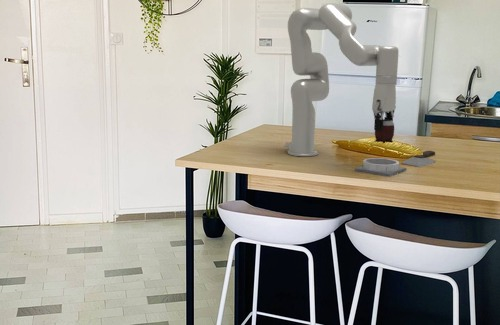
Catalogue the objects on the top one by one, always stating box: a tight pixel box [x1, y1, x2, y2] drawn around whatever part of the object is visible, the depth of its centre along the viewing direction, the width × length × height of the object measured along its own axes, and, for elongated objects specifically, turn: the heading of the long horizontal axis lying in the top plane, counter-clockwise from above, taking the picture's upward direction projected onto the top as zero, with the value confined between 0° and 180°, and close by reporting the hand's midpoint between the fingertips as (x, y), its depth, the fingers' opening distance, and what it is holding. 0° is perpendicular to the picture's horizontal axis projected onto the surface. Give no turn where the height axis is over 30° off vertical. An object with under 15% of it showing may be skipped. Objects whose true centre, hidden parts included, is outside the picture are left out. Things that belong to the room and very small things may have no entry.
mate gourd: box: [374, 110, 395, 144], centre depth 221 cm, size 8×8×15 cm
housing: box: [354, 157, 407, 178], centre depth 225 cm, size 14×14×4 cm
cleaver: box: [401, 150, 437, 168], centre depth 246 cm, size 30×10×2 cm, turn 146°
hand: (383, 128), depth 222 cm, fingers closed on mate gourd, 7 cm apart
